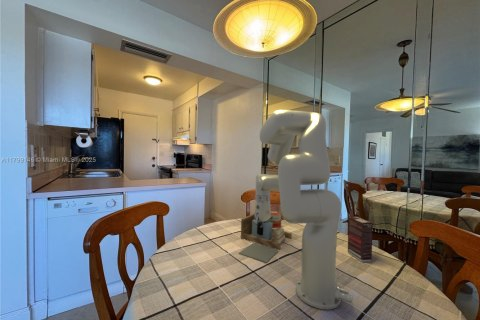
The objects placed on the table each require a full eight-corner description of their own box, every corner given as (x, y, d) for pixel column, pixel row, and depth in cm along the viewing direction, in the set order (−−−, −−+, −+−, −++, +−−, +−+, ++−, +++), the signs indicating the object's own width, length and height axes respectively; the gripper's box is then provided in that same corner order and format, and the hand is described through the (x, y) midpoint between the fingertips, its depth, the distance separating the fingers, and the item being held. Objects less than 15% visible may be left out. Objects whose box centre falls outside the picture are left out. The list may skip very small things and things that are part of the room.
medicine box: (276, 223, 125) (276, 210, 125) (281, 228, 117) (281, 214, 117) (253, 224, 123) (253, 211, 123) (256, 228, 115) (256, 215, 115)
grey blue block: (272, 238, 101) (272, 222, 101) (269, 240, 98) (269, 224, 98) (255, 233, 107) (255, 219, 107) (251, 235, 104) (252, 220, 104)
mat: (278, 251, 87) (278, 250, 87) (266, 263, 77) (266, 262, 77) (252, 243, 94) (253, 243, 94) (238, 253, 84) (238, 252, 84)
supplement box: (372, 261, 80) (373, 222, 80) (361, 262, 79) (362, 222, 79) (356, 251, 88) (357, 216, 88) (346, 252, 87) (347, 216, 87)
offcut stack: (284, 240, 100) (285, 228, 100) (278, 245, 93) (279, 232, 93) (277, 238, 102) (277, 226, 102) (270, 243, 95) (271, 231, 95)
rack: (291, 238, 102) (292, 218, 102) (279, 249, 89) (279, 227, 88) (256, 229, 114) (257, 211, 114) (240, 238, 100) (241, 218, 100)
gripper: (261, 201, 94) (260, 240, 94) (275, 196, 107) (275, 230, 107) (248, 199, 98) (247, 236, 98) (263, 194, 111) (262, 227, 112)
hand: (261, 232), depth 103 cm, fingers closed on grey blue block, 3 cm apart
